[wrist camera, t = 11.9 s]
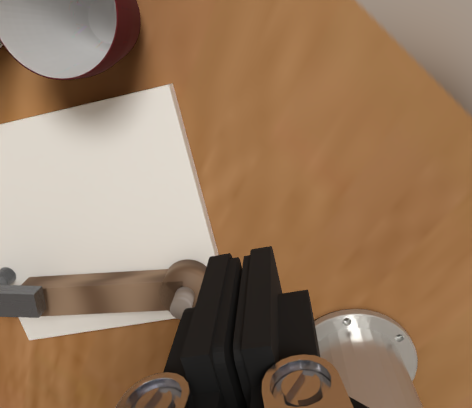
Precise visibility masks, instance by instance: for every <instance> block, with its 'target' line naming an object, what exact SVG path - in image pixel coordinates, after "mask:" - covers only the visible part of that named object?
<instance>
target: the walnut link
mask: <svg viewBox="0 0 472 408" xmlns="http://www.w3.org/2000/svg"><path fill="white" fill-rule="evenodd" d="M206 267H207V266H205V265H204V264H203V263H201V262H198V261H196V260H190V259H186V260H180V261H178V262H176V263H174V264H173V265H171V266H170V267H169V269H160V270H143V271H126V272H108V273H91V274H74V275H57V276H39V277H29V278H28V279H27V280H26V281H25V282H24V283H22V284H21V285H25V286H42V289H43V294H44V299H45V303H46V308H47V309H46V310H45V311H44V312H43V313H42V315H41V316H61V315H82V314H103V313H124V312H146V311H167V310H168V311H169V312H170V313H171V315H172V316H173V317H175V318H177V319H181V317H182V314H183V312H184V310H185V309H186V308H192V307H195V305H196V302H197V298H198V295H199V291H200V288H201V284H202V281H203V277H204V274H205V270H206Z"/></svg>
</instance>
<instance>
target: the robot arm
mask: <svg viewBox="0 0 472 408" xmlns="http://www.w3.org/2000/svg"><path fill="white" fill-rule="evenodd" d="M417 361H418V358H417V353H416V349H415V346H414V344H413V342H412V340H411V338H410V336H409V335H408V333H407V332H406V330H405V329H404V328H403V327H402V326H401V325H400V324H399V323H397V322H396V321H394V320H393V319H391V318H390V317H388V316H385V315H383V314H381V313H378V312H374V311H370V310H363V309H348V310H340V311H337V312H333V313H329V314H327V315H325V316H323V317H320V318H318V319H317V320H316V321H314V318H313V312H312V307H311V302H310V297H309V292H308V290H303V291H296V292H290V293H283V294H282V290H281V285H280V281H279V276H278V272H277V267H276V262H275V258H274V253H273V250H272V247H271V246H270V247H264V248H258V249H252V250H251V253H250V255H249V256H244V260H243V268H242V266H241V262H240V259H239V258H238V257H237V258H232V256H231V254H230V253H229V254H223V255H217V256H211V257H209V260H208V263H207V267H206V270H205V274H204V277H203V281H202V284H201V288H200V291H199V295H198V298H197V302H196V305H195V307H192V308H186V309H185V310H184V312H183V314H182V317H181V320H180V323H179V326H178V329H177V332H176V335H175V338H174V342H173V345H172V348H171V351H170V354H169V357H168V360H167V363H166V366H165V369H164V372H163V373H157V374H154V375H151V376H148V377H146V378H144V379H142V380H140V381H139V382H137V383H135V384H134V385H133V386H132V387H131V388H130V389H128V390H127V391H126V393H125V394H124V395H123V397H122V398H121V399H120V401H119V403H118V404H117V406H116V408H423V406H422V404H421V402H420V399H419V397H418V394H417V392H416V390H415V387H414V385H413V382H412V381H413V379H414V377H415V374H416V371H417Z"/></svg>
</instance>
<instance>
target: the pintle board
mask: <svg viewBox="0 0 472 408" xmlns="http://www.w3.org/2000/svg"><path fill="white" fill-rule="evenodd" d="M217 255H219V254H218V250H217V247H216V243H215V239H214V236H213V232H212V228H211V224H210V221H209V217H208V213H207V209H206V206H205V202H204V198H203V194H202V191H201V187H200V183H199V180H198V176H197V172H196V168H195V165H194V161H193V157H192V153H191V150H190V146H189V142H188V139H187V135H186V131H185V127H184V124H183V120H182V116H181V112H180V109H179V105H178V101H177V97H176V94H175V90H174V86H173V83H172V84H168V85H164V86H159V87H155V88H151V89H147V90H143V91H138V92H134V93H130V94H126V95H121V96H117V97H113V98H109V99H104V100H100V101H96V102H92V103H88V104H83V105H79V106H75V107H71V108H66V109H62V110H58V111H54V112H50V113H45V114H41V115H37V116H33V117H28V118H24V119H20V120H16V121H11V122H7V123H3V124H0V269H1V268H3V267H8V268H10V269H12V270H13V271H14V272H15V274H16V280H15V281H14V282H13V283H12V284H11V285H21V284H22V283H24V282H25V281H26V280H27V279H28V278H29V277H39V276H57V275H74V274H91V273H108V272H126V271H143V270H160V269H169V267H170V266H171V265H173V264H174V263H176V262H178V261H180V260H186V259H190V260H196V261H198V262H201V263H203V264H204V265H205V266H207V263H208V260H209V257H211V256H217ZM174 318H175V317H173V316H172V315H171V313H170V312H169V311H168V310H167V311H146V312H124V313H103V314H82V315H61V316H40V317H39V318H28V317H19V319H20V322H21V324H22V326H23V328H24V330H25V332H26V334H27V336H28V339H29V340H34V339H41V338H48V337H54V336H61V335H68V334H74V333H81V332H88V331H94V330H101V329H108V328H114V327H121V326H128V325H134V324H141V323H148V322H154V321H161V320H168V319H174Z"/></svg>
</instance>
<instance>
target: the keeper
mask: <svg viewBox="0 0 472 408" xmlns="http://www.w3.org/2000/svg"><path fill="white" fill-rule="evenodd" d="M15 280H16V274H15V272H14V271H13V270H12V269H10V268H8V267H3V268H1V269H0V317H28V318H39V317H40V316H41V315H42V313H43V312H44V311H45V310H46V309H47V308H46V303H45V299H44V294H43V289H42V286H25V285H11V284H12V283H13V282H14V281H15Z"/></svg>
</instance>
